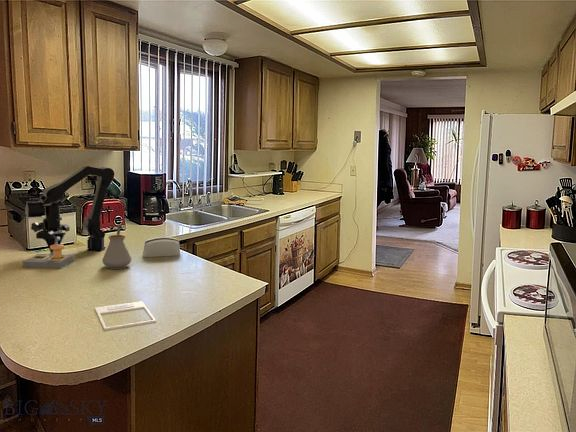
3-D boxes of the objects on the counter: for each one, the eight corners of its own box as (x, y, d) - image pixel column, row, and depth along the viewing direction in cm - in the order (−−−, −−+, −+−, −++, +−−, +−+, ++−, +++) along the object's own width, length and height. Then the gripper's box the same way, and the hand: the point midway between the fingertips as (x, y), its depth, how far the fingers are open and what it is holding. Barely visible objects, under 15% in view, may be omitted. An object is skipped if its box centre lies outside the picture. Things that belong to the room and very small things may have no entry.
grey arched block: (179, 252, 222) (180, 234, 218) (180, 258, 218) (181, 239, 214) (142, 254, 216) (142, 235, 211) (143, 260, 212) (143, 241, 208)
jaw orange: (67, 262, 197) (66, 244, 196) (61, 266, 192) (60, 247, 191) (54, 262, 197) (53, 244, 196) (48, 265, 192) (47, 246, 191)
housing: (73, 260, 201) (73, 254, 200) (60, 268, 189) (59, 261, 188) (38, 259, 200) (38, 253, 200) (22, 267, 189) (22, 260, 188)
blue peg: (62, 253, 212) (62, 236, 211) (57, 256, 207) (56, 238, 205) (51, 253, 212) (50, 235, 210) (45, 255, 207) (44, 238, 205)
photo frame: (142, 300, 155) (156, 319, 140) (142, 303, 155) (156, 323, 140) (94, 307, 148) (104, 327, 132) (94, 310, 148) (104, 331, 133)
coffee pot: (130, 269, 191) (130, 233, 189) (100, 270, 188) (99, 234, 186) (133, 256, 211) (133, 224, 209) (106, 257, 209) (106, 224, 206)
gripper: (45, 211, 215) (46, 244, 218) (22, 218, 197) (24, 254, 200) (69, 212, 216) (70, 245, 218) (49, 219, 197) (50, 255, 200)
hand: (54, 250), depth 209 cm, fingers closed on blue peg, 4 cm apart
